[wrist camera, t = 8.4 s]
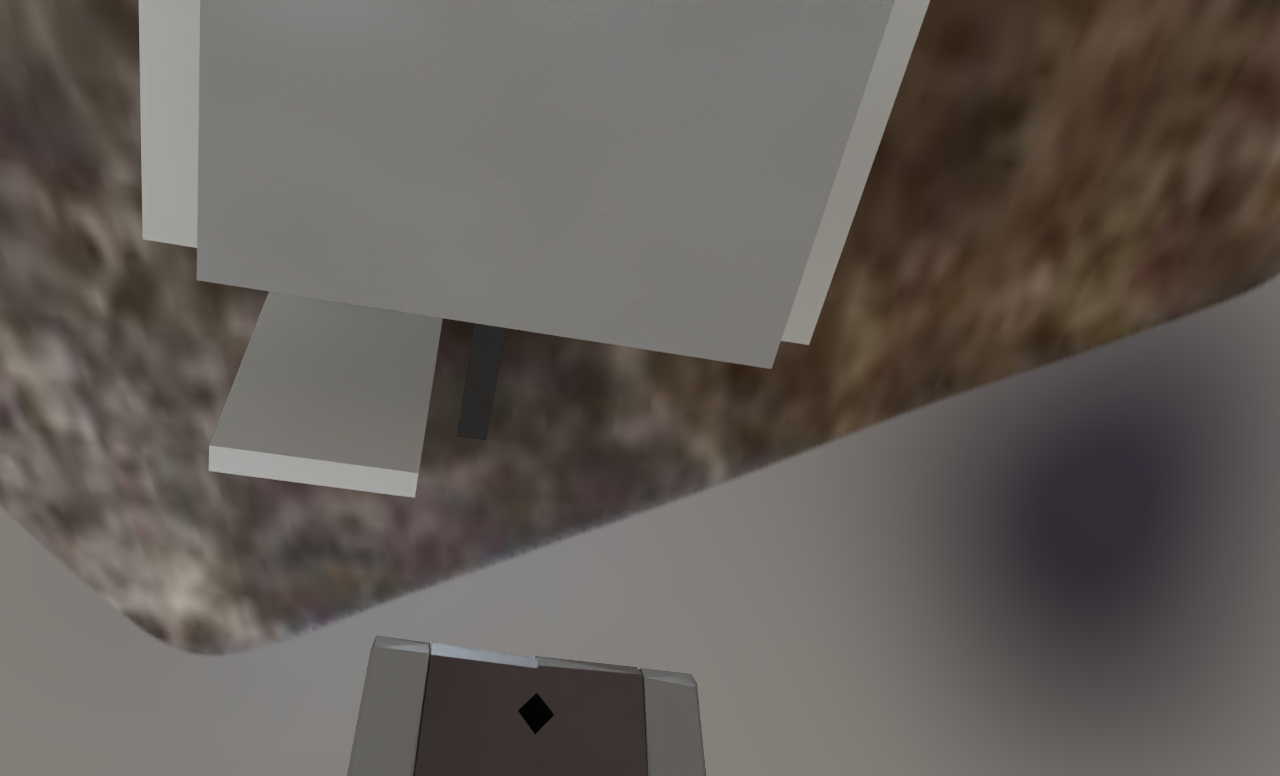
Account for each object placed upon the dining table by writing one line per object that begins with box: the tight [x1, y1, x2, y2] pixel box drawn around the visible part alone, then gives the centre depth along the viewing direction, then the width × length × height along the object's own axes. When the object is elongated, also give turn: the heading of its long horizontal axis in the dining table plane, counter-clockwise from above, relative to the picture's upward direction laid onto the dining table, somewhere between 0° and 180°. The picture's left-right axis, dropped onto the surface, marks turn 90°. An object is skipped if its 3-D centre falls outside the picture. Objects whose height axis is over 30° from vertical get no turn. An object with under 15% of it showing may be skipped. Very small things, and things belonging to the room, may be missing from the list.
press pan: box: [197, 0, 895, 440], centre depth 29 cm, size 14×19×5 cm
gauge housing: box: [139, 0, 930, 498], centre depth 29 cm, size 20×22×9 cm
